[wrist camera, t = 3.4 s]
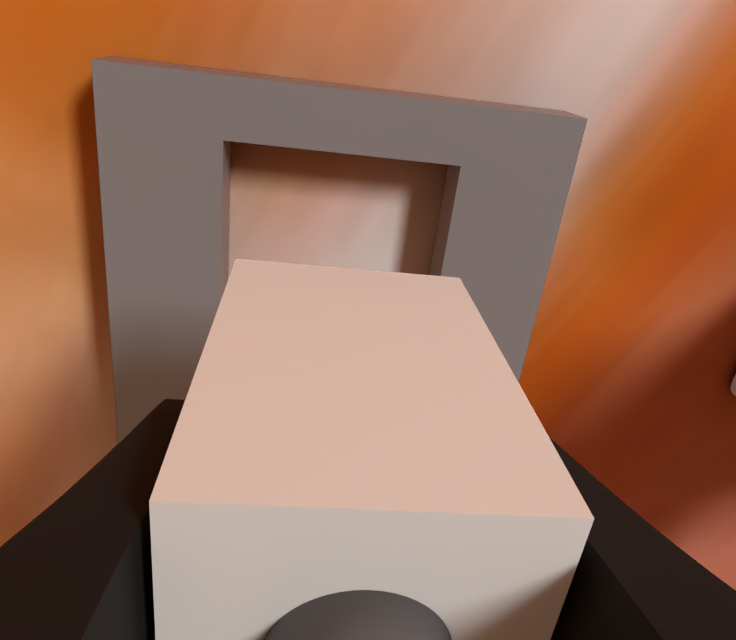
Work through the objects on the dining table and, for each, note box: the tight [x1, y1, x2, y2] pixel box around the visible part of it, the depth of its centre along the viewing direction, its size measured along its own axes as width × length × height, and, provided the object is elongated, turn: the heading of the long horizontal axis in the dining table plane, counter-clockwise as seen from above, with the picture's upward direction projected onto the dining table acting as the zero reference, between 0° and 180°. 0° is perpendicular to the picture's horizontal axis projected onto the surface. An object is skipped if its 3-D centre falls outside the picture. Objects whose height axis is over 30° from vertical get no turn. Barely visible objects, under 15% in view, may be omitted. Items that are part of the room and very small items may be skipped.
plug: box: [149, 259, 594, 640], centre depth 8 cm, size 4×4×8 cm
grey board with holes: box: [91, 56, 587, 444], centre depth 20 cm, size 12×23×2 cm, turn 173°
